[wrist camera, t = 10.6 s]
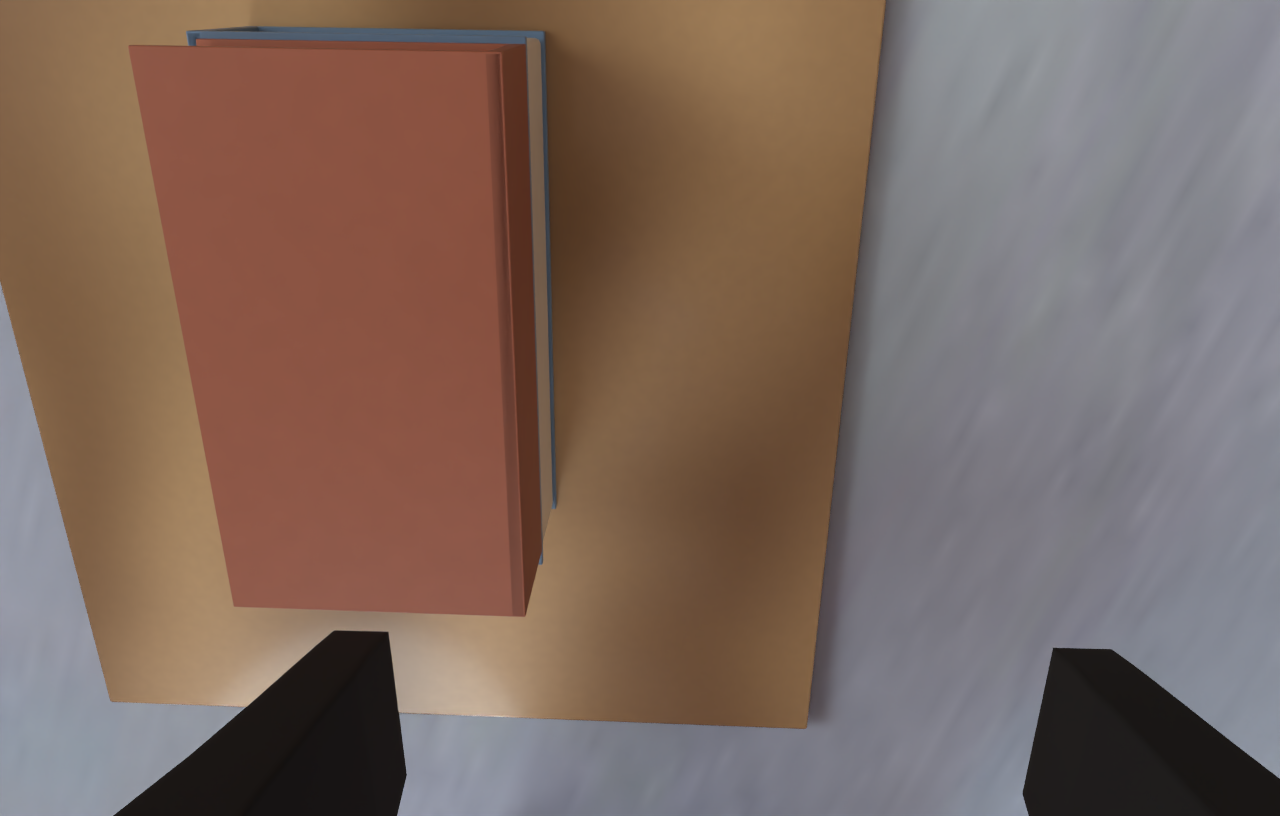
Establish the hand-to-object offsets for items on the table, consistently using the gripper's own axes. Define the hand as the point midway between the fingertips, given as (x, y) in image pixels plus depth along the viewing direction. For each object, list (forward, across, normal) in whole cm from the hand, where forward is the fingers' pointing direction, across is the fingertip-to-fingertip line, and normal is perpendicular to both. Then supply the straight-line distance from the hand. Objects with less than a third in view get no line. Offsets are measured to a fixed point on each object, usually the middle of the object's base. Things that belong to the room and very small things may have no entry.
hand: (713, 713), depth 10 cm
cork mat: (+9, +5, -2) cm, 11 cm away
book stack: (+9, +5, -2) cm, 10 cm away
